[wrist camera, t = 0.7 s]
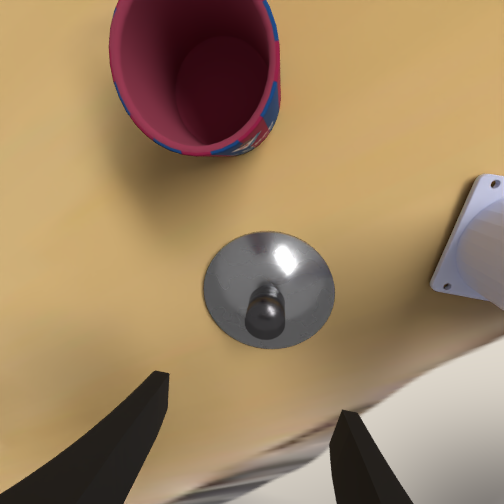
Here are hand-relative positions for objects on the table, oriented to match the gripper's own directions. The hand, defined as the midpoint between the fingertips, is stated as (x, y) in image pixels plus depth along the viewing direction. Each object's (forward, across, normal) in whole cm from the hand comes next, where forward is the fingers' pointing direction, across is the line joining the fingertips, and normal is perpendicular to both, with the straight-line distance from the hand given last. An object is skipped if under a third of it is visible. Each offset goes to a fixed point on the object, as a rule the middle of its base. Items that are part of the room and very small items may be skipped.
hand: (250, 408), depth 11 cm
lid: (+11, 0, 0) cm, 11 cm away
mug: (+11, +6, -14) cm, 18 cm away
